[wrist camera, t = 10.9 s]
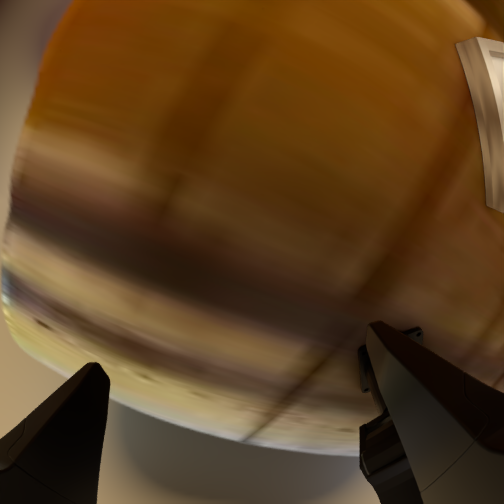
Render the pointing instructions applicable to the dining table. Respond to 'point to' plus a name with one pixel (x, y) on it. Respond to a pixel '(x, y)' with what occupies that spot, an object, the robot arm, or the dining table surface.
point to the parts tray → (488, 108)
